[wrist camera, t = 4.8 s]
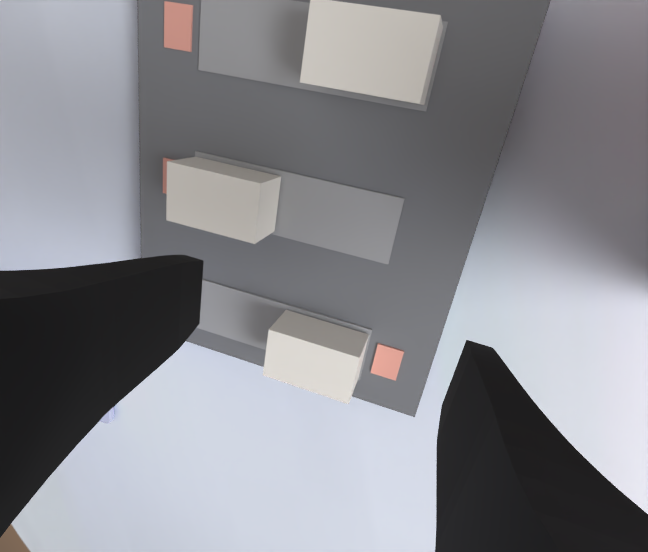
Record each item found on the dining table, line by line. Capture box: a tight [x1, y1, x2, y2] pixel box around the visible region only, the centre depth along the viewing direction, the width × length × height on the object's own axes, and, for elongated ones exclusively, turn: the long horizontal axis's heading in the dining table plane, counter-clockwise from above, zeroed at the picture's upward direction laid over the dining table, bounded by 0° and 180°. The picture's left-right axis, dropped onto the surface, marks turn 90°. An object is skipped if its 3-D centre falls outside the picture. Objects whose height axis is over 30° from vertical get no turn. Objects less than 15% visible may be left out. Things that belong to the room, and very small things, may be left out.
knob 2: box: [263, 310, 369, 404], centre depth 19 cm, size 4×2×2 cm, turn 80°
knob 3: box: [300, 0, 443, 105], centre depth 14 cm, size 4×2×2 cm, turn 80°
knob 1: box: [166, 157, 281, 244], centre depth 17 cm, size 4×2×2 cm, turn 80°
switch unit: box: [138, 0, 551, 417], centre depth 18 cm, size 15×17×1 cm
